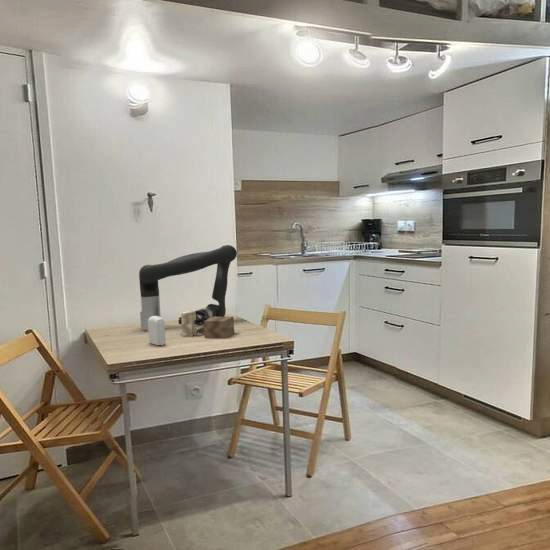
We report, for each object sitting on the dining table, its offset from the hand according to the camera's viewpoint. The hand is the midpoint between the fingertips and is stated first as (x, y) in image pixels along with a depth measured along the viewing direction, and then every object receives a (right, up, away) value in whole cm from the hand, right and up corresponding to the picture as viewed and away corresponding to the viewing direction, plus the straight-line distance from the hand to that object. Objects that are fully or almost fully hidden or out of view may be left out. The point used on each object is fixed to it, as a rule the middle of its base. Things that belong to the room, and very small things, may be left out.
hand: (187, 322), depth 219 cm
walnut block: (+15, -6, -2) cm, 17 cm away
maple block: (+1, -6, +2) cm, 7 cm away
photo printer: (-10, -8, -15) cm, 20 cm away
